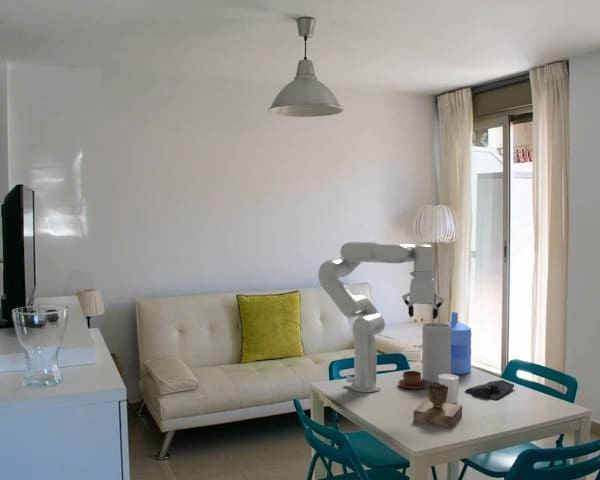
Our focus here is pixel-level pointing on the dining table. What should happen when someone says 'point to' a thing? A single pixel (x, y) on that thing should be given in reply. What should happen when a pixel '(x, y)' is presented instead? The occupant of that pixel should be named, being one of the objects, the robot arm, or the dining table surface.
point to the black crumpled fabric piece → (491, 389)
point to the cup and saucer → (412, 380)
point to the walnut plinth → (438, 414)
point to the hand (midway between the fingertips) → (423, 317)
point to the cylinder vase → (436, 351)
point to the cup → (437, 395)
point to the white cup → (450, 386)
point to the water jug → (460, 346)
